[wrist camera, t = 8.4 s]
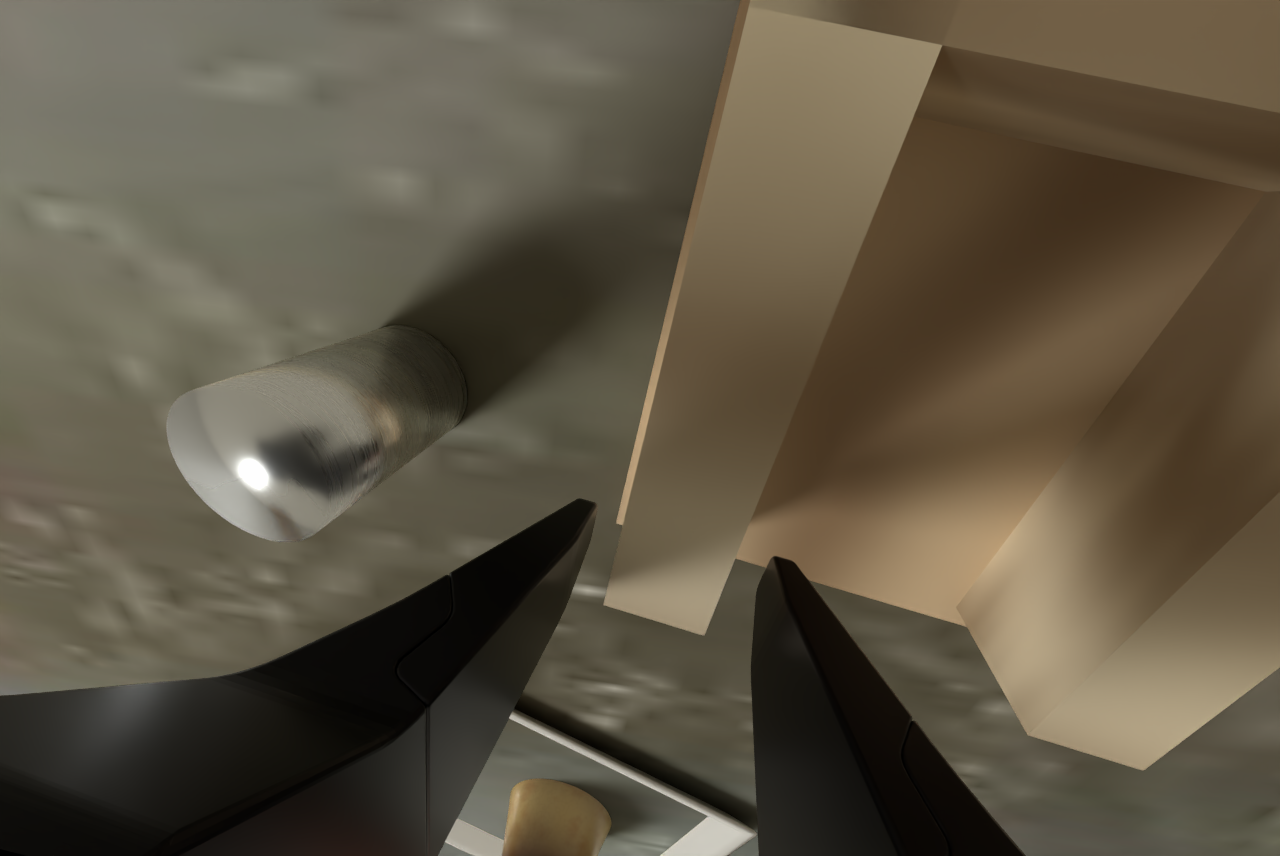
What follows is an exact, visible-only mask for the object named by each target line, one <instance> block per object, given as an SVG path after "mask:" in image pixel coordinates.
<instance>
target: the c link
mask: <svg viewBox="0 0 1280 856" xmlns="http://www.w3.org/2000/svg"><path fill="white" fill-rule="evenodd" d="M913 117H919V118H923V119H928V120H933V121H937V122H942V123H947V124H951V125H956V126H961V127H965V128H970V129H975V130H980V131H984V132H989V133H994V134H998V135H1003V136H1008V137H1012V138H1017V139H1022V140H1026V141H1031V142H1036V143H1040V144H1045V145H1050V146H1054V147H1059V148H1064V149H1069V150H1073V151H1078V152H1083V153H1087V154H1092V155H1097V156H1101V157H1106V158H1111V159H1115V160H1120V161H1125V162H1129V163H1134V164H1139V165H1143V166H1148V167H1153V168H1158V169H1162V170H1167V171H1172V172H1176V173H1181V174H1186V175H1190V176H1195V177H1200V178H1204V179H1209V180H1214V181H1218V182H1223V183H1228V184H1232V185H1237V186H1242V187H1246V188H1251V189H1256V190H1261V191H1265V194H1264V195H1263V196H1262V198H1261V199H1260V200H1259V202H1258V203H1257V204H1256V206H1255V207H1254V208H1253V210H1252V211H1251V212H1250V214H1249V215H1248V216H1247V218H1246V219H1245V221H1244V222H1243V223H1242V225H1241V226H1240V227H1239V229H1238V230H1237V231H1236V233H1235V234H1234V235H1233V237H1232V238H1231V239H1230V241H1229V242H1228V243H1227V245H1226V246H1225V247H1224V249H1223V250H1222V251H1221V253H1220V254H1219V255H1218V257H1217V258H1216V259H1215V261H1214V262H1213V263H1212V265H1211V266H1210V267H1209V269H1208V270H1207V271H1206V273H1205V274H1204V275H1203V277H1202V278H1201V280H1200V281H1199V282H1198V284H1197V285H1196V286H1195V288H1194V289H1193V290H1192V292H1191V293H1190V294H1189V296H1188V297H1187V298H1186V300H1185V301H1184V302H1183V304H1182V305H1181V306H1180V308H1179V309H1178V310H1177V312H1176V313H1175V314H1174V316H1173V317H1172V318H1171V320H1170V321H1169V322H1168V324H1167V325H1166V326H1165V328H1164V329H1163V330H1162V332H1161V333H1160V334H1159V336H1158V337H1157V339H1156V340H1155V341H1154V343H1153V344H1152V345H1151V347H1150V348H1149V349H1148V351H1147V352H1146V353H1145V355H1144V356H1143V357H1142V359H1141V360H1140V361H1139V363H1138V364H1137V365H1136V367H1135V368H1134V369H1133V371H1132V372H1131V373H1130V375H1129V376H1128V377H1127V379H1126V380H1125V381H1124V383H1123V384H1122V385H1121V387H1120V388H1119V389H1118V391H1117V392H1116V393H1115V395H1114V396H1113V398H1112V399H1111V400H1110V402H1109V403H1108V404H1107V406H1106V407H1105V408H1104V410H1103V411H1102V412H1101V414H1100V415H1099V416H1098V418H1097V419H1096V420H1095V422H1094V423H1093V424H1092V426H1091V427H1090V428H1089V430H1088V431H1087V432H1086V434H1085V435H1084V436H1083V438H1082V439H1081V440H1080V442H1079V443H1078V444H1077V446H1076V447H1075V448H1074V450H1073V451H1072V452H1071V454H1070V455H1069V457H1068V458H1067V459H1066V461H1065V462H1064V463H1063V465H1062V466H1061V467H1060V469H1059V470H1058V471H1057V473H1056V474H1055V475H1054V477H1053V478H1052V479H1051V481H1050V482H1049V483H1048V485H1047V486H1046V487H1045V489H1044V490H1043V491H1042V493H1041V494H1040V495H1039V497H1038V498H1037V499H1036V501H1035V502H1034V503H1033V505H1032V506H1031V507H1030V509H1029V510H1028V511H1027V513H1026V514H1025V516H1024V517H1023V518H1022V520H1021V521H1020V522H1019V524H1018V525H1017V526H1016V528H1015V529H1014V530H1013V532H1012V533H1011V534H1010V536H1009V537H1008V538H1007V540H1006V541H1005V542H1004V544H1003V545H1002V546H1001V548H1000V549H999V550H998V552H997V553H996V554H995V556H994V557H993V558H992V560H991V561H990V562H989V564H988V565H987V566H986V568H985V569H984V571H983V572H982V573H981V575H980V576H979V577H978V579H977V580H976V581H975V583H974V584H973V585H972V587H971V588H970V589H969V591H968V592H967V593H966V595H965V596H964V597H963V599H962V600H961V601H960V603H959V604H958V605H957V607H956V608H957V610H958V612H959V614H960V615H961V617H962V619H963V621H964V623H965V624H966V626H967V628H968V630H969V631H970V633H971V635H972V637H973V639H974V640H975V642H976V644H977V646H978V647H979V649H980V651H981V653H982V655H983V656H984V658H985V660H986V662H987V663H988V665H989V667H990V669H991V671H992V672H993V674H994V676H995V678H996V680H997V681H998V683H999V685H1000V687H1001V688H1002V690H1003V692H1004V694H1005V696H1006V697H1007V699H1008V701H1009V703H1010V704H1011V706H1012V708H1013V710H1014V712H1015V713H1016V715H1017V717H1018V719H1019V720H1020V722H1021V724H1022V726H1023V728H1024V729H1025V731H1026V733H1027V735H1029V736H1032V737H1036V738H1039V739H1042V740H1045V741H1049V742H1052V743H1055V744H1058V745H1062V746H1065V747H1068V748H1071V749H1075V750H1078V751H1081V752H1084V753H1088V754H1091V755H1094V756H1097V757H1101V758H1104V759H1107V760H1111V761H1114V762H1117V763H1120V764H1124V765H1127V766H1130V767H1133V768H1137V769H1140V770H1143V771H1144V770H1145V769H1146V768H1147V767H1149V766H1150V765H1151V764H1153V763H1154V762H1155V761H1157V760H1158V759H1159V758H1161V757H1162V756H1163V755H1165V754H1166V753H1167V752H1169V751H1170V750H1171V749H1173V748H1174V747H1175V746H1176V745H1178V744H1179V743H1180V742H1182V741H1183V740H1184V739H1186V738H1187V737H1188V736H1190V735H1191V734H1192V733H1194V732H1195V731H1196V730H1198V729H1199V728H1200V727H1202V726H1203V725H1204V724H1206V723H1207V722H1208V721H1209V720H1211V719H1212V718H1213V717H1215V716H1216V715H1217V714H1219V713H1220V712H1221V711H1223V710H1224V709H1225V708H1227V707H1228V706H1229V705H1231V704H1232V703H1233V702H1235V701H1236V700H1237V699H1238V698H1240V697H1241V696H1242V695H1244V694H1245V693H1246V692H1248V691H1249V690H1250V689H1252V688H1253V687H1254V686H1256V685H1257V684H1258V683H1260V682H1261V681H1262V680H1264V679H1265V678H1266V677H1268V676H1269V675H1270V674H1271V673H1273V672H1274V671H1275V670H1277V669H1278V668H1279V667H1280V0H750V4H749V8H748V12H747V16H746V20H745V24H744V28H743V32H742V37H741V41H740V45H739V49H738V53H737V57H736V61H735V65H734V69H733V74H732V78H731V82H730V86H729V90H728V94H727V98H726V102H725V107H724V111H723V115H722V119H721V123H720V127H719V131H718V135H717V139H716V144H715V148H714V152H713V156H712V160H711V164H710V168H709V172H708V177H707V181H706V185H705V189H704V193H703V197H702V201H701V205H700V209H699V214H698V218H697V222H696V226H695V230H694V234H693V238H692V242H691V246H690V251H689V255H688V259H687V263H686V267H685V271H684V275H683V279H682V284H681V288H680V292H679V296H678V300H677V304H676V308H675V312H674V316H673V321H672V325H671V329H670V333H669V337H668V341H667V345H666V349H665V354H664V358H663V362H662V366H661V370H660V374H659V378H658V382H657V386H656V391H655V395H654V399H653V403H652V407H651V411H650V415H649V419H648V424H647V428H646V432H645V436H644V440H643V444H642V448H641V452H640V456H639V461H638V465H637V469H636V473H635V477H634V481H633V485H632V489H631V493H630V498H629V502H628V506H627V510H626V514H625V518H624V522H623V526H622V531H621V535H620V539H619V543H618V547H617V551H616V555H615V559H614V563H613V568H612V572H611V576H610V580H609V584H608V588H607V592H606V596H605V601H604V605H605V606H609V607H612V608H615V609H618V610H622V611H625V612H628V613H632V614H635V615H638V616H641V617H645V618H648V619H651V620H654V621H658V622H661V623H664V624H667V625H671V626H674V627H677V628H680V629H684V630H687V631H690V632H693V633H697V634H700V635H703V636H704V635H705V632H706V630H707V627H708V625H709V622H710V620H711V617H712V615H713V612H714V610H715V608H716V605H717V603H718V600H719V598H720V595H721V593H722V590H723V588H724V585H725V583H726V580H727V578H728V575H729V573H730V570H731V568H732V565H733V563H734V560H735V558H736V555H737V553H738V551H739V548H740V546H741V543H742V541H743V538H744V536H745V533H746V531H747V528H748V526H749V523H750V521H751V518H752V516H753V513H754V511H755V508H756V506H757V503H758V501H759V498H760V496H761V494H762V491H763V489H764V486H765V484H766V481H767V479H768V476H769V474H770V471H771V469H772V466H773V464H774V461H775V459H776V456H777V454H778V451H779V449H780V446H781V444H782V441H783V439H784V437H785V434H786V432H787V429H788V427H789V424H790V422H791V419H792V417H793V414H794V412H795V409H796V407H797V404H798V402H799V399H800V397H801V394H802V392H803V389H804V387H805V384H806V382H807V380H808V377H809V375H810V372H811V370H812V367H813V365H814V362H815V360H816V357H817V355H818V352H819V350H820V347H821V345H822V342H823V340H824V337H825V335H826V332H827V330H828V327H829V325H830V322H831V320H832V318H833V315H834V313H835V310H836V308H837V305H838V303H839V300H840V298H841V295H842V293H843V290H844V288H845V285H846V283H847V280H848V278H849V275H850V273H851V270H852V268H853V265H854V263H855V261H856V258H857V256H858V253H859V251H860V248H861V246H862V243H863V241H864V238H865V236H866V233H867V231H868V228H869V226H870V223H871V221H872V218H873V216H874V213H875V211H876V208H877V206H878V204H879V201H880V199H881V196H882V194H883V191H884V189H885V186H886V184H887V181H888V179H889V176H890V174H891V171H892V169H893V166H894V164H895V161H896V159H897V156H898V154H899V151H900V149H901V147H902V144H903V142H904V139H905V137H906V134H907V132H908V129H909V127H910V124H911V122H912V119H913Z"/></svg>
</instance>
